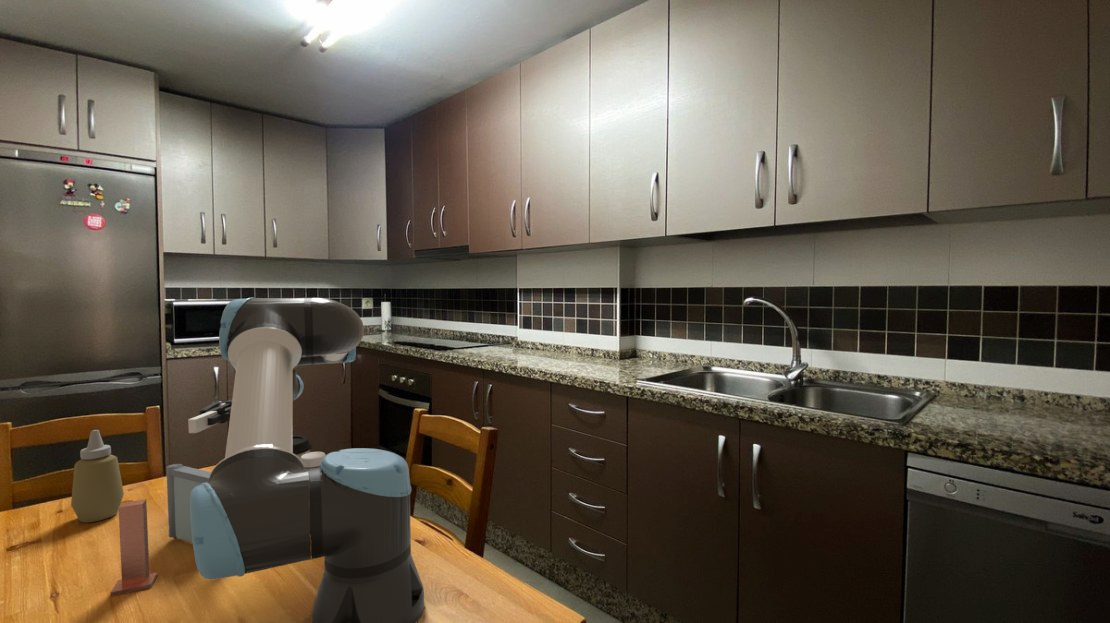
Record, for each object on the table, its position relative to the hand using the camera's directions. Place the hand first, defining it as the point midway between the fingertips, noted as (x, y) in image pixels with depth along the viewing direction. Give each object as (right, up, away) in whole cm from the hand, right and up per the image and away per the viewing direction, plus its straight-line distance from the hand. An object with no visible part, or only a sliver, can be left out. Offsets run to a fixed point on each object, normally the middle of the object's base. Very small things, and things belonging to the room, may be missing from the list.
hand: (192, 426), depth 99 cm
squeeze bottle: (-23, -20, +5) cm, 31 cm away
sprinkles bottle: (+22, -20, +4) cm, 30 cm away
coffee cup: (+15, -20, +8) cm, 26 cm away
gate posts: (+9, -21, -15) cm, 27 cm away
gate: (+6, -20, -7) cm, 22 cm away
